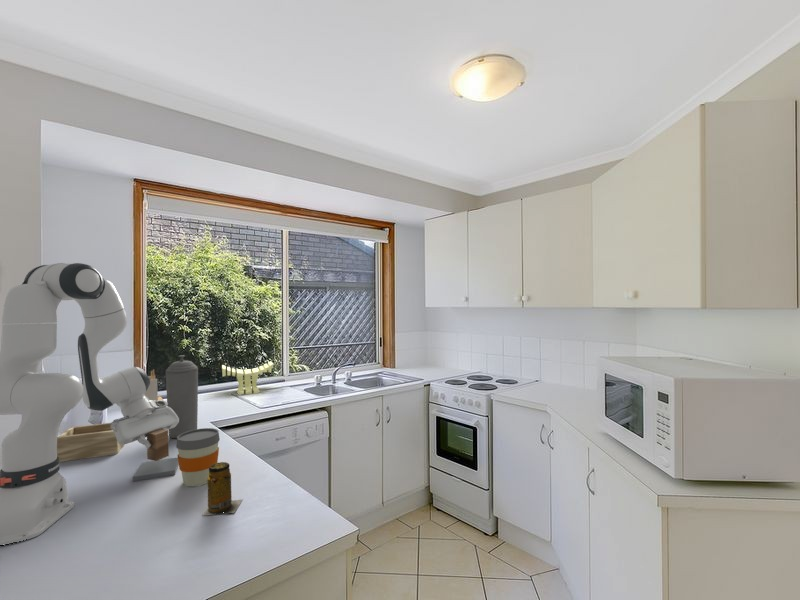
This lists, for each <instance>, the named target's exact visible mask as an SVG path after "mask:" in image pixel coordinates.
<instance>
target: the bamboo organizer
mask: <svg viewBox="0 0 800 600" xmlns="http://www.w3.org/2000/svg"><path fill="white" fill-rule="evenodd" d="M111 423H112V422H106V423H105V422H104V423H97V424H96V423H95V424H87V425H86V424H85V425H79V426H71V427H69V428H68V429H67V430H66V431H64V432H63V433H61V434H60V435H58V436H57V457H59V461H60V463H61V462H69V461H75V460H84V459H90V458H97V457H106V456H111V455H118V454H119V453H120V452H121V450H122V449H123V448H124V446H125V445H121V444H119V443H118V441H117V439H116V436H115V433H114V431H113V430H112V428H111V426H110V424H111Z"/></svg>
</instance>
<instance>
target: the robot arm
mask: <svg viewBox="0 0 800 600" xmlns="http://www.w3.org/2000/svg"><path fill="white" fill-rule="evenodd" d="M73 300H74V301H75V302H76V303H77V304H78V305H79V307H80V310H81V313H82V314H81V315H82V317H83V320H84V329H83V332H82V333H81V334H80V335H79V336H78V337H77V352H78V354H77V355H78V362H79V363H78V364H79V370H80V376H81V379H80V378H79V377H77V376H75V375H72V374H66V373H62V372H61V373H59V372H48V373H47V372H46V373H45V372H43V373H42V372H41V373H38V368H39V366H40V364H41V362H42V361H43V360H44V359H46V358H48V357H49V356H51V355H52V354H54V353H55V351H56V350H57V341H58V340H57V336H58V335H57V334H58V333H57V330H58V329H57V328H58V327H57V325H58V324H57V323H58V321H57V320H58V319H57V317H58V316H57V311H58V310H57V309H58V306H59V304H60V302H62V301H73ZM127 315H128V314H127V311H126V309H125V305H124V302H123V301H122V298H121V296H120V293H119V292H118V291H117V288H116V287H115V285H114V284H113V282H112V281H111V280H108V279H105V278H103V276H102V274H101V273H100V272H99V271H98V269H96V268H95V267H94V266H92V265H89V264H87V263H83V262H82V263H81V262H73V263H65V262H61V263H60V262H57V263H51V264H42V265H38V266H36V267H34V268H32V269H31V270H29V272H27V274H26V275H25V278H24V279H23V282H22V283H21V284H18V285H16V286H13V287H11V288H9V290H8V292H7V294H6V297H5V300H4V305H3V310H2V317H1V341H0V415H1V416H6V415H8V416H9V415H10V416H11V415H21V420H20V424H19V426H18V428H17V429H15V430H13V431H12V432H9V434H7V435H6V436H5V437H4V438H3V440H2V442H1V469H0V545H3V544H8V543H13V542H17V543H20V542H19V541H21V542H24V541H27V540H30V539H33V538H35V537H38V536H39V535H42V533H43V532H45V531H46V530H47V529H49V528H50V527H51V526H53V524H55V523H57V521H58V520H60V519H61V518H62V517H63V516H65V515H66V514H67V513H68V512H69V511H71V510H72V509H73V508H74V507H75V503H74V502H73V501H69V498H68V489H67V486H68V485H67V480H66V477H64V476H63V475H61V473H60V472H59V471H60V466H61V462H60V461H59V457H57V437H59V429H60V426H61V424H62V422H63V419H64V418H65V417H66V415H67V414H68V413H69V412H70V411H71V410H73V409H74V408H75V407H76V406H77V405H78V404H79V403H80V402H81V400H82V401H83V403H84V404H85V406H86V407H87V408H88V409H89V410H91V411H98V412H99V411H100V412H103V411H104V410H106V409H109V408H110V407H112V406H113V405H117V406H118V407H119V409H120V413H121V414H122V416H123V417H120V418H116V419H113V420H112V421H111V422H110V423H111V424H110V426H111V428H112V430H113V431H114V433H115V436H116V439H117V441H118V443H119V444H121V445H124V446H125V445H128V444H130V443H133V442H136V441H137V442H138V443H139V444H141V445H143V446H145V448H146V450H147V449H148V448H151V447H152V446H153V443H152V441H148V440H147V433H150V432H153V431H156V430H159V429H163V430H168V429H171V428H174V427H175V426H176V425H177V424H178V423H179V418H178V416H177V415H176V413H175V412H174V411H173V409H171V408H170V407H167V405H168V403H167V400H163V401H154V400H149V399H148V398H147V397H146V396H145V394H144V393H145V392H146V391H147V389H148V387H149V385H150V379H149V377H148V376H149V375H148V374H147V373H146V371H145V369H143V368H141V367H138V366H131V367H129V368H125V369H123V370H120V371H118V372H115V373H112V374H110V375H107V376H104V377H102V378H100V376H99V368H98V360H97V359H98V354H99V352H100V351H101V350H102V349H103V348H104V347H105V346H106V345H108V344H109V343H110V342H112V341H113V340H115V339H116V338H118V337H119V336H120V335H122V333H123V332H124V331H125V329H126V328H127V326H128V316H127ZM168 431H169V430H168ZM169 440H171V439H170V437H169V435H168V442H169ZM26 539H27V540H26ZM23 540H24V541H23ZM13 544H14V543H13Z"/></svg>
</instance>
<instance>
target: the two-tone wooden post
mask: <svg viewBox="0 0 800 600" xmlns="http://www.w3.org/2000/svg"><path fill="white" fill-rule="evenodd" d="M147 376H148V377H149V379H150V385H149V387H148V389H147V391H146V392H145V393H144V394H145V396H146V397H147V398H148V399H149V400H154V401H164V399H163V398H162V396H159V395H158V394H159V393H158V378H156V374H155V369H153V370H151V371H150V375H147Z"/></svg>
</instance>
